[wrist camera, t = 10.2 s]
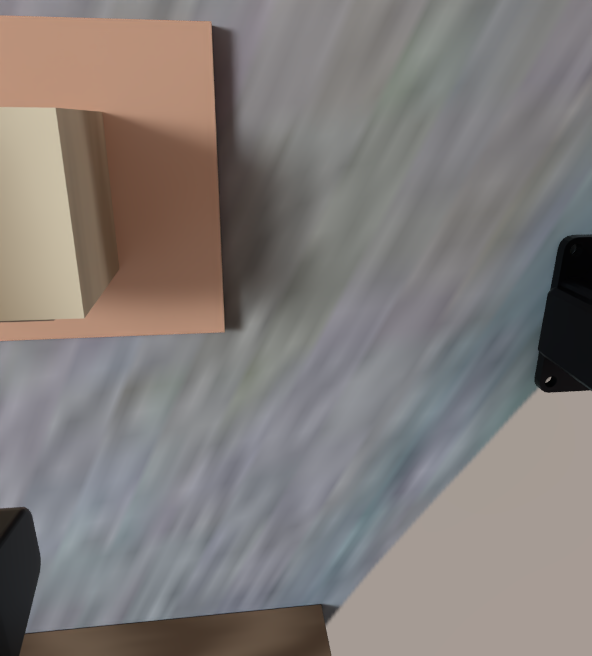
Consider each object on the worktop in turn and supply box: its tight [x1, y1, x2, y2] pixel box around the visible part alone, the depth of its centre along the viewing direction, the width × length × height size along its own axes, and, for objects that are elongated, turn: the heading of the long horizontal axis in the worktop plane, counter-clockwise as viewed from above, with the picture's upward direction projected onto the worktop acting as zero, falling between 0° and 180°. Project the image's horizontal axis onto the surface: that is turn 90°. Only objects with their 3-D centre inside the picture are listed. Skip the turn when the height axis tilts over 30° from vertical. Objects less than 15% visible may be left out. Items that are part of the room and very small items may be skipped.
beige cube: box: [0, 107, 119, 322], centre depth 15 cm, size 5×5×5 cm
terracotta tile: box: [0, 16, 225, 341], centre depth 18 cm, size 12×10×1 cm
